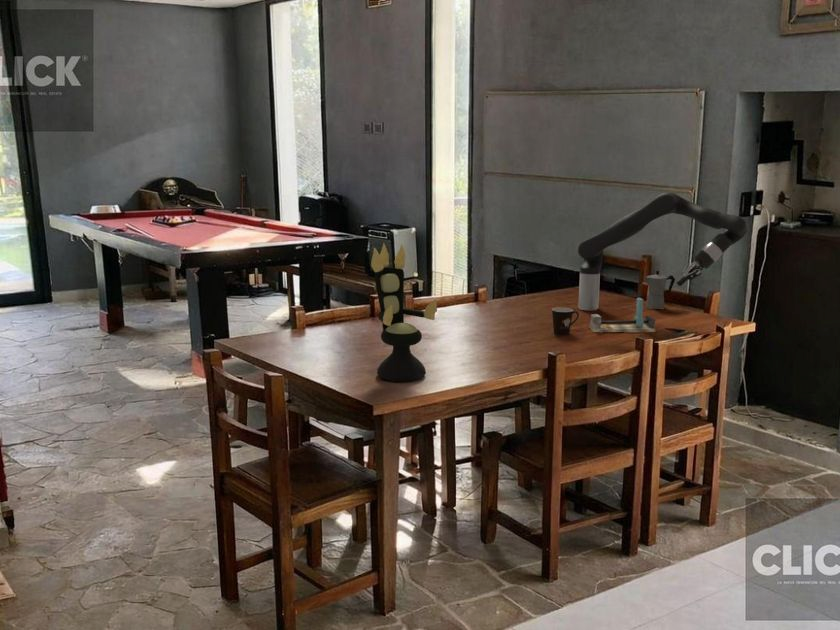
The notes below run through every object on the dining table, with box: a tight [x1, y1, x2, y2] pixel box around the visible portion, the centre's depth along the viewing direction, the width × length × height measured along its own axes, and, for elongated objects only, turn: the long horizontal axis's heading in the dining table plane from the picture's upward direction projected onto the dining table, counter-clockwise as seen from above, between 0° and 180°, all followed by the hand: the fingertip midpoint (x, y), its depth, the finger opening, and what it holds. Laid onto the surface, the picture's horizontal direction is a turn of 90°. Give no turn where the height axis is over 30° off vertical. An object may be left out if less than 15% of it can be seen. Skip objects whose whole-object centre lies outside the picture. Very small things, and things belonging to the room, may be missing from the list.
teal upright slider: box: [633, 297, 645, 327], centre depth 357 cm, size 3×4×12 cm
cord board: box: [588, 313, 656, 334], centre depth 357 cm, size 26×8×6 cm, turn 94°
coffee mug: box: [551, 307, 580, 336], centre depth 351 cm, size 12×9×10 cm
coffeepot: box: [643, 270, 676, 310], centre depth 400 cm, size 15×9×18 cm, turn 98°
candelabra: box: [370, 243, 438, 383], centre depth 287 cm, size 19×22×45 cm
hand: (677, 284), depth 355 cm, fingers closed
